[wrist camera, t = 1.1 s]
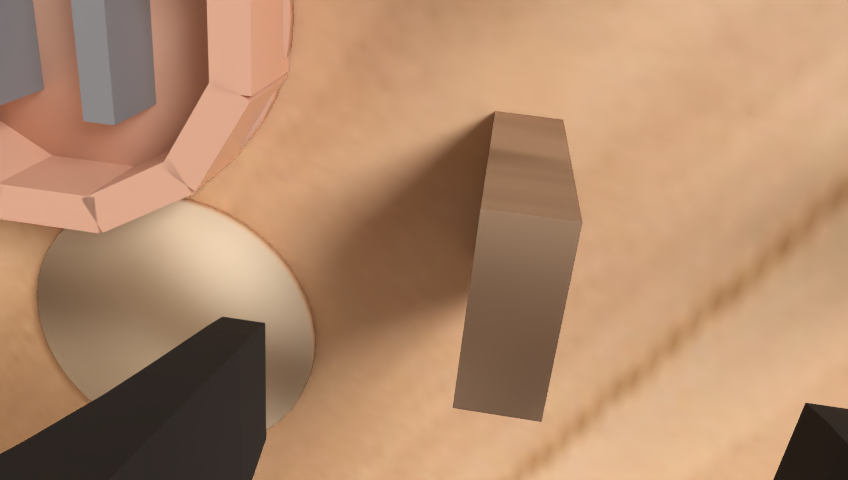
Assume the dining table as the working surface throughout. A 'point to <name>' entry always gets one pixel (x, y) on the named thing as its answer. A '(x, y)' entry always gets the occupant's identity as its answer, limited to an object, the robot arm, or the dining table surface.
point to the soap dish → (129, 101)
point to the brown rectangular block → (519, 269)
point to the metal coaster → (170, 298)
